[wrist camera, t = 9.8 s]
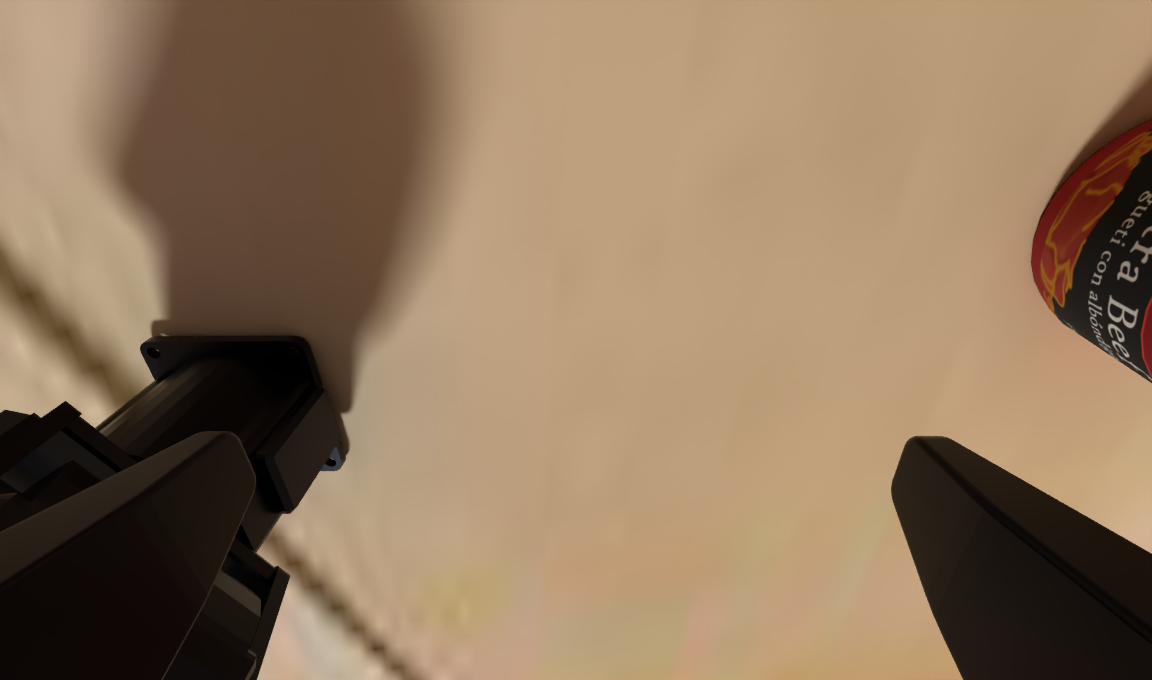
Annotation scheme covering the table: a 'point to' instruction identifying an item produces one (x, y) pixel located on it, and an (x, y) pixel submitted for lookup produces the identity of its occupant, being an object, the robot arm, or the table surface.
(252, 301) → the table surface
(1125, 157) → the canned food
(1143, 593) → the robot arm
